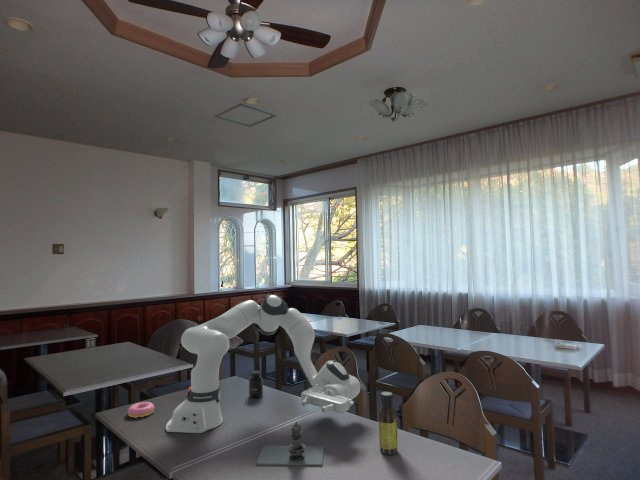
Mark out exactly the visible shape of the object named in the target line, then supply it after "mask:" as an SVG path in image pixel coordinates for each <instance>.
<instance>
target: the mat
mask: <svg viewBox="0 0 640 480" xmlns="http://www.w3.org/2000/svg"><path fill="white" fill-rule="evenodd" d="M288 446H289V445H272V444H271V445H268V444H267V445H262V448H261V450H260V452H259V455H258V456H257V457H258V458H257V459H256V463H255V465H256V466H282V467H283V466H287V467H290V466H291V467H293V466H295V467H296V466H297V467H302V466H303V467H322V466H323V463H324V462H323V461H324V452H325V445H305V449H304V452H303V455H304V456H305V458H304V460H302V461H299V462H293V461H291V460H290V459H289V457H290V455H291V454H290V452H289V449H288Z"/></svg>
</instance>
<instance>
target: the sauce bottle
mask: <svg viewBox="0 0 640 480" xmlns="http://www.w3.org/2000/svg"><path fill="white" fill-rule="evenodd" d="M380 394H381V395H380V398H381V407H380V409H379V412H378V435H379V437H378V438H379V450H380V451H379V452H381V454H382V455H383V454H384V455H394V454H396V453H397V452H398V446H399V445H398V444H399V443H398V442H399V441H398V421H397V419H398V418H397V413H396V410H395V409H394V407H393V406H394V405H393V397H394V394H393V393H392V392H390V391H382V392H381V393H380Z"/></svg>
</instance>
